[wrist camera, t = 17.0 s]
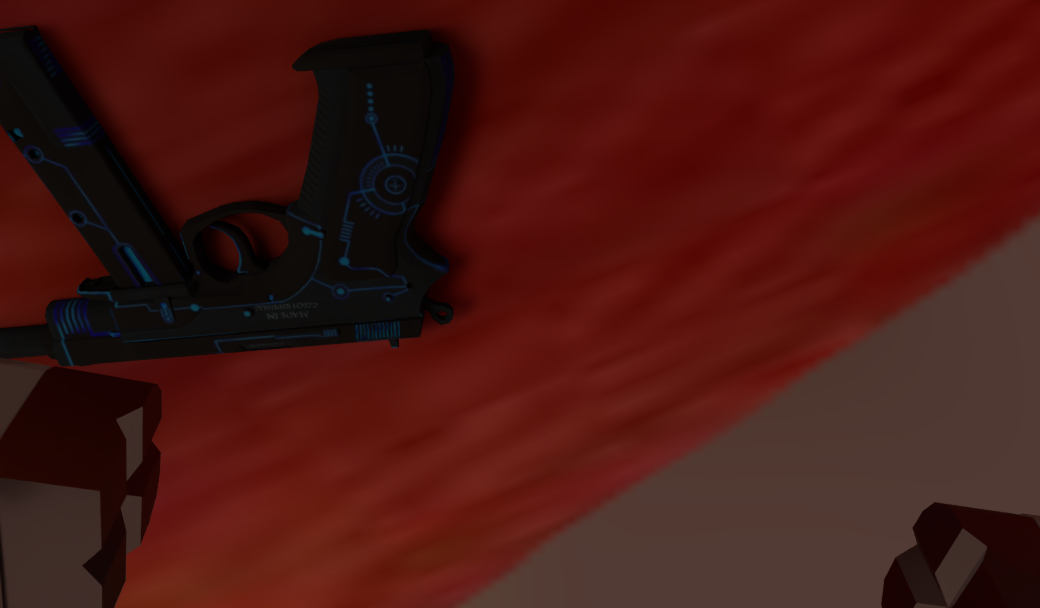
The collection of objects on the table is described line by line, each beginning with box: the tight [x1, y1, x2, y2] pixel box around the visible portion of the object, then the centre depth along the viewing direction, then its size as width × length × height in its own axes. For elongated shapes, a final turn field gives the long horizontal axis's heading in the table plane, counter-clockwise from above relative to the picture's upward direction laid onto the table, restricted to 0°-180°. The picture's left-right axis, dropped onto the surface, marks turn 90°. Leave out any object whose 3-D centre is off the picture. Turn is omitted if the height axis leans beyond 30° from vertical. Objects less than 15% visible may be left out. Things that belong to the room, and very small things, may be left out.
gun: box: [0, 26, 455, 366], centre depth 40 cm, size 24×3×15 cm
